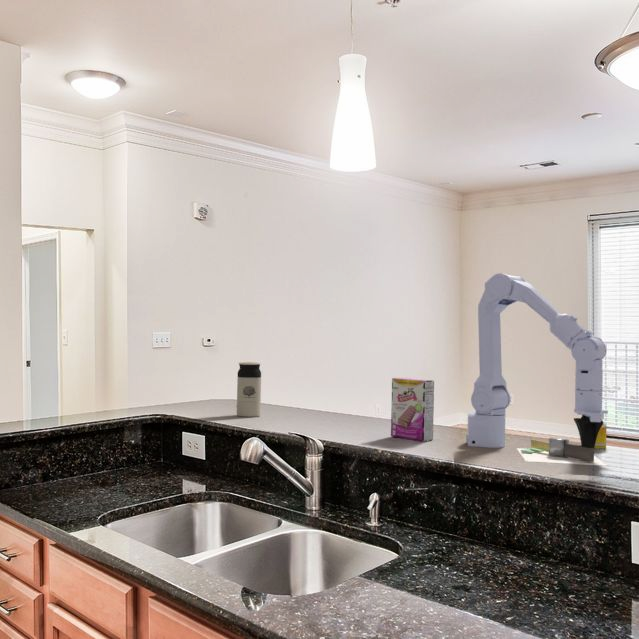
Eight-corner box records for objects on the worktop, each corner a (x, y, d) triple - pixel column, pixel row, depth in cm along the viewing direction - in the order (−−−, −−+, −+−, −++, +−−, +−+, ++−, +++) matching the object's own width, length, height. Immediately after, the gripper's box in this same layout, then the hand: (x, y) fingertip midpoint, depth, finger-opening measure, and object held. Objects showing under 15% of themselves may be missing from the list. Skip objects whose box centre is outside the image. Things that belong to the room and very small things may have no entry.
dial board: (525, 465, 142) (525, 459, 142) (516, 452, 159) (516, 447, 159) (607, 470, 139) (607, 464, 139) (589, 456, 156) (589, 450, 156)
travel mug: (240, 414, 223) (241, 362, 223) (262, 414, 222) (263, 362, 222) (233, 416, 215) (235, 362, 216) (257, 417, 214) (258, 363, 214)
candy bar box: (389, 437, 179) (390, 377, 179) (400, 435, 183) (401, 377, 183) (423, 442, 171) (424, 380, 172) (434, 440, 175) (435, 379, 175)
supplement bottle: (579, 450, 163) (579, 412, 164) (589, 448, 167) (590, 411, 167) (599, 453, 159) (600, 414, 159) (610, 451, 163) (610, 413, 163)
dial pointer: (524, 449, 155) (525, 434, 155) (537, 448, 158) (538, 433, 158) (584, 462, 140) (585, 445, 140) (598, 460, 142) (598, 444, 143)
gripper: (616, 393, 139) (615, 457, 138) (599, 388, 153) (598, 445, 153) (581, 392, 140) (580, 455, 140) (568, 387, 154) (567, 444, 154)
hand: (588, 450), depth 146 cm, fingers closed
